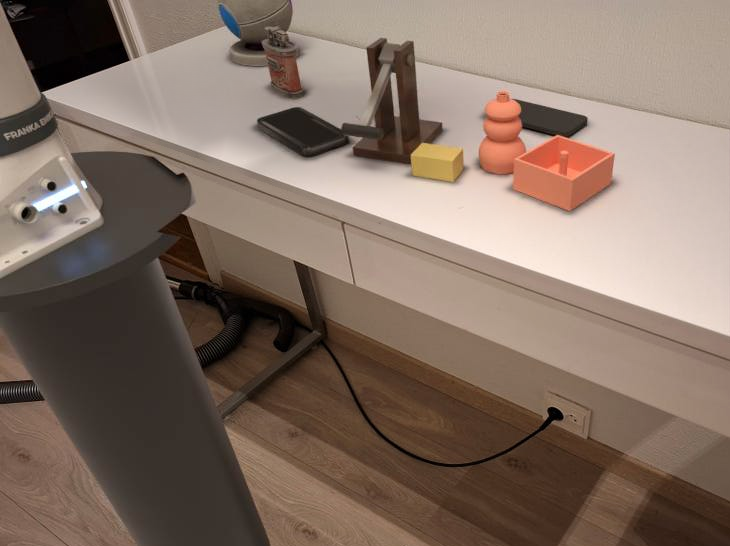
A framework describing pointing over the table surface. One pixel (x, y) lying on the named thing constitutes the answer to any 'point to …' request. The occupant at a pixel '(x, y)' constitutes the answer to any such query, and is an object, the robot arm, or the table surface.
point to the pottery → (542, 159)
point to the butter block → (437, 162)
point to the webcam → (254, 26)
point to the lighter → (282, 63)
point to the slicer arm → (374, 98)
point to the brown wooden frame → (407, 128)
